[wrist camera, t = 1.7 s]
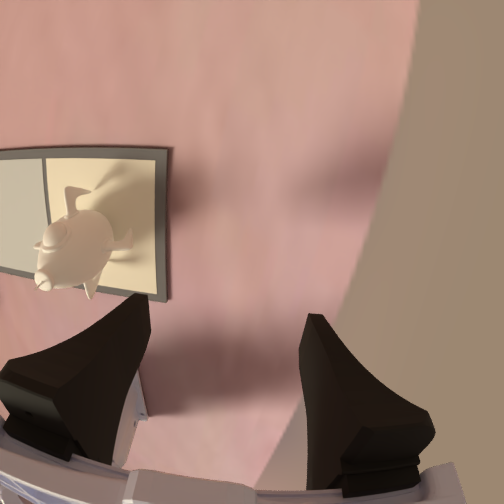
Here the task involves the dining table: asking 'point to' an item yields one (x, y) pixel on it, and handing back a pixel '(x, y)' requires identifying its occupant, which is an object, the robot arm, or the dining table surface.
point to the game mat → (100, 199)
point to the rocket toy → (76, 247)
